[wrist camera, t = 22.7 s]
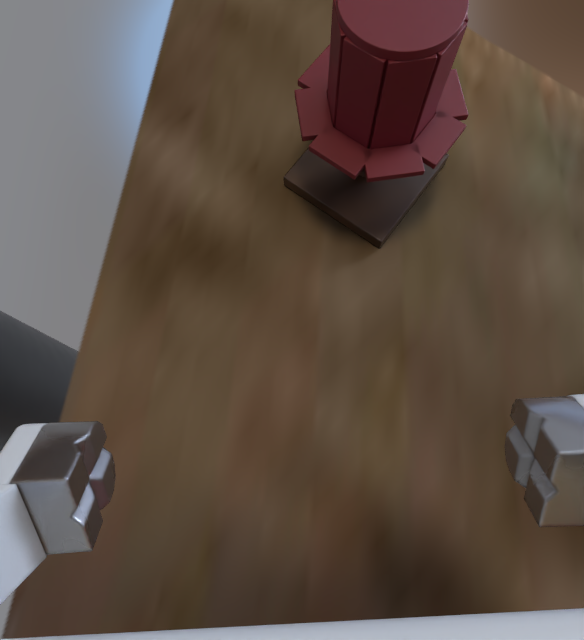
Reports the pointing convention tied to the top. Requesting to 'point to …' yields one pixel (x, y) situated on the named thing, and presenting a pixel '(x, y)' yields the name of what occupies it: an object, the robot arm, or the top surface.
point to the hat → (385, 87)
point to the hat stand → (358, 195)
